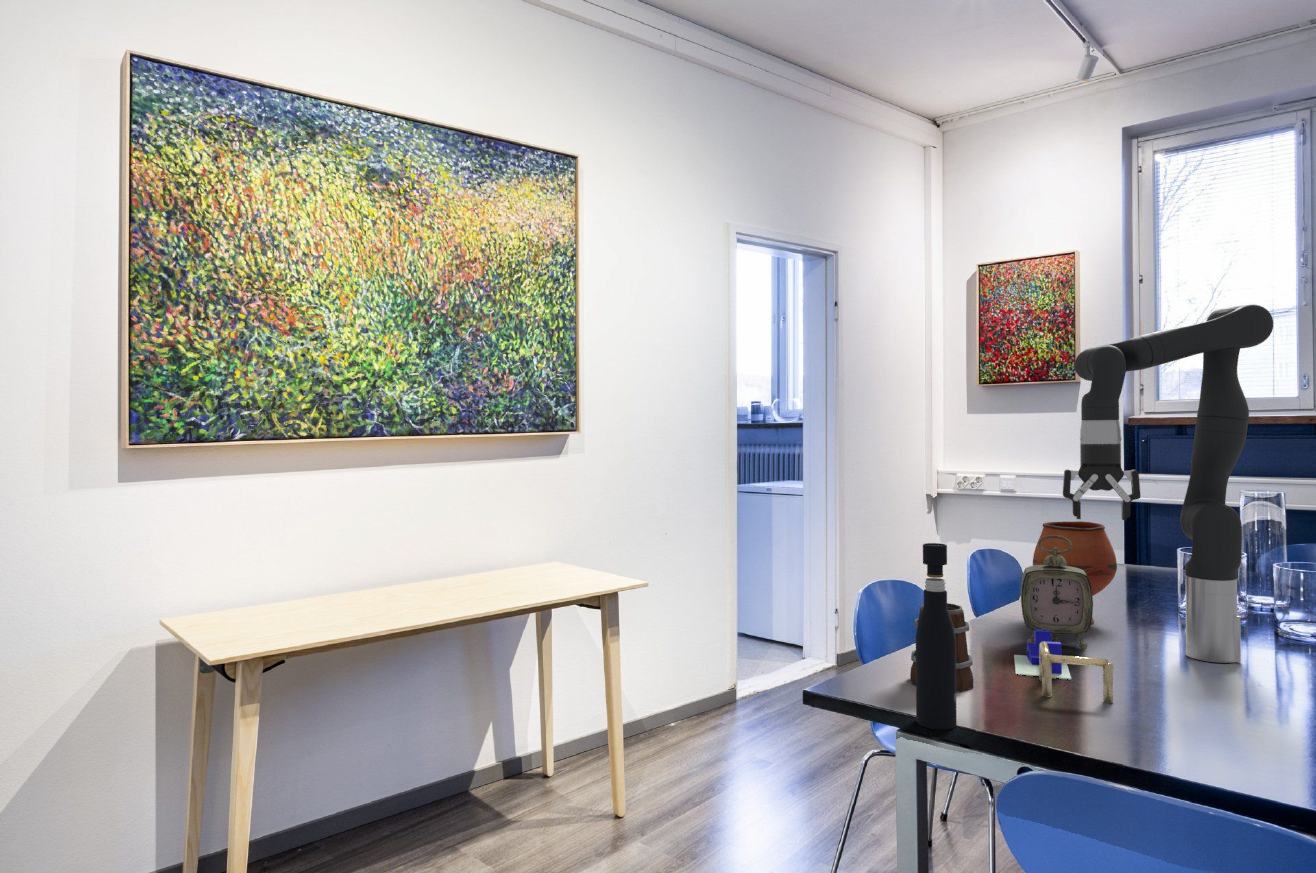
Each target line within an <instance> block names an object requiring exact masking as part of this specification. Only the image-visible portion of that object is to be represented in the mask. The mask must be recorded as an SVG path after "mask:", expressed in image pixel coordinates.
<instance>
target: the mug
mask: <svg viewBox="0 0 1316 873" xmlns="http://www.w3.org/2000/svg"><path fill="white" fill-rule="evenodd" d="M923 607H924V603H922V604H921V606H920V607H919V614H918V618H915V619H914V628H916V629H917V626H918V621H919V618H920V615H921V613H922V610H923ZM947 608H948V611H949V614H950V617H951V620H952V623H953V627H954V631H955V637H956V691H961V692H963V691H966V690H970V689H973V688H974V675H973V671H972V669H971V667H972V666H973V663H974V661H973V656H972V655H970V654H969V651H968V642H967V633H966V632H969V631H970V624H969V622H968V621H966V620H965V613H964V609H963V606H962V605H959V604H955V603H949V602H947ZM910 657H911V658H910V660H911V662H912V664H911V666H910V674H909V675H910V676H909V677H910V680H909V681H910V683H911V684H914V685H916V649H915V650H912V651H911V656H910Z"/></svg>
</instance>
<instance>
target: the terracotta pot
mask: <svg viewBox="0 0 1316 873" xmlns="http://www.w3.org/2000/svg"><path fill="white" fill-rule="evenodd" d="M1105 528H1106V527H1105V525H1104V524H1102V523H1096V522H1091V521H1083V520H1082V521H1051V522H1043V523H1042V530H1041V532H1040V536H1039V538H1038V541H1037V542H1036V546H1035V548H1034V552H1033V556H1032V566H1034V565H1043V562H1044V559H1045V558H1046V557H1047V556H1049V555H1053V554H1050V553H1046V552H1044V551H1042V550H1041V549H1040V548H1039V546H1038V542H1039V541H1040V539H1042V538H1043V537H1045V536H1049V535H1058V536H1063V537H1065V538H1067V539H1069V540H1070V541H1071V543H1072V548H1071V550H1070V551H1068V552H1067V553H1063V554H1058V555H1059V556H1062V557H1063V558H1064V559H1065V560H1066V562H1067V565H1068V566H1070V567H1076V568H1079V569H1081V570H1084V572H1085V573H1086V575H1087V577H1088V579H1089V581H1090V584H1091V588H1092V597H1094V596H1095V595H1097V594H1099V593H1100V592H1102V591H1104V589H1105V588H1106V587H1107V586H1108V585H1109V584H1110V583H1111V582H1112V581H1113V580H1114V578H1115V575H1116V573H1117V570H1118V564H1117V563H1118V561H1117V556H1116V554H1115V550H1114V548H1113V545H1112V543H1111V541H1110V539H1109V537H1108V535H1107V532H1106V529H1105ZM1040 546H1041V547H1042V548H1043V549H1046V550H1049V551H1053V548H1054V547H1056V548H1057V549H1058V551H1063V550H1067V549H1069V547H1070V544H1069V543H1068V542H1067V541H1066V540H1063V539H1059V538H1048V539H1045V540H1043V541H1042V542H1041V544H1040ZM1094 623H1095V619H1094V617H1092V621H1091V625H1092V624H1094Z"/></svg>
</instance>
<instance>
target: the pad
mask: <svg viewBox="0 0 1316 873" xmlns="http://www.w3.org/2000/svg"><path fill="white" fill-rule="evenodd" d="M1013 659H1014V669H1015V670H1014V672H1015V675H1016V676H1022V675H1026V676H1025V677H1033V676H1039V665H1032V664H1031V662H1030V661H1029V659H1028V658H1027V655H1023V654H1022V655H1021V654H1013ZM1017 674H1018V675H1017ZM1056 678H1059V679H1058V680H1060V679H1061V680H1067V679H1068V680H1069V681H1072V675H1071V673H1070V670H1069V666H1068V664H1064V663H1062V674H1052V679H1056Z"/></svg>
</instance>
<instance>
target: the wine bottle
mask: <svg viewBox="0 0 1316 873" xmlns="http://www.w3.org/2000/svg"><path fill="white" fill-rule="evenodd" d="M922 564H923V565H926V568H927V569H926V570H927V571H926V576H927V577H928V578H925V580H924V583H925V585H924V588H925V589H924V590H923V592H922V593H923V604H924V607H923V610H922V613H921V615H920V618H919V617H918V618H919V621H918V626H917V628H916V630H915V632H916V633H915V650H916V684H915V709H916V710H915V711H916V712H915V714H916V715H915V717H916V718H915V720H916V721H915V722H916V723H917V724H918V725H919V726H920V727H924V728H927V729H930V730H937V731H944V730H945V731H946V730H948V731H949V730H952V729H954V728H956V727H957V725H958V724H957V692H956V637H955V631H954V627H953V623H952V620H951V617H950V614H949V611H948V608H947V603H948V591H947V590H946V587H947V586H946V582H945V579H944V578H943V577H944V567H943V566H946V565H948V544H946V543H937V542H928V543H927V542H925V543H923V544H922Z"/></svg>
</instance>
